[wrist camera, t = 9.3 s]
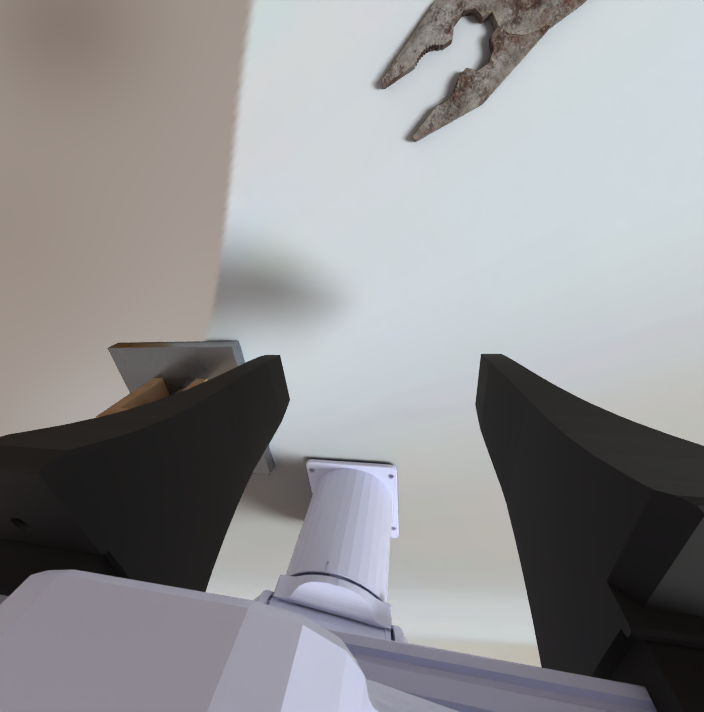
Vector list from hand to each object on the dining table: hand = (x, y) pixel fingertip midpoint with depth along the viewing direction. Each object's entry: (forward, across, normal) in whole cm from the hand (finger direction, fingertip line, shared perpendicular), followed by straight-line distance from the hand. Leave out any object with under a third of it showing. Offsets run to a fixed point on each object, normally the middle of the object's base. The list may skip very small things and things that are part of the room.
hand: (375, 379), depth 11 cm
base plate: (+9, +17, +9) cm, 21 cm away
